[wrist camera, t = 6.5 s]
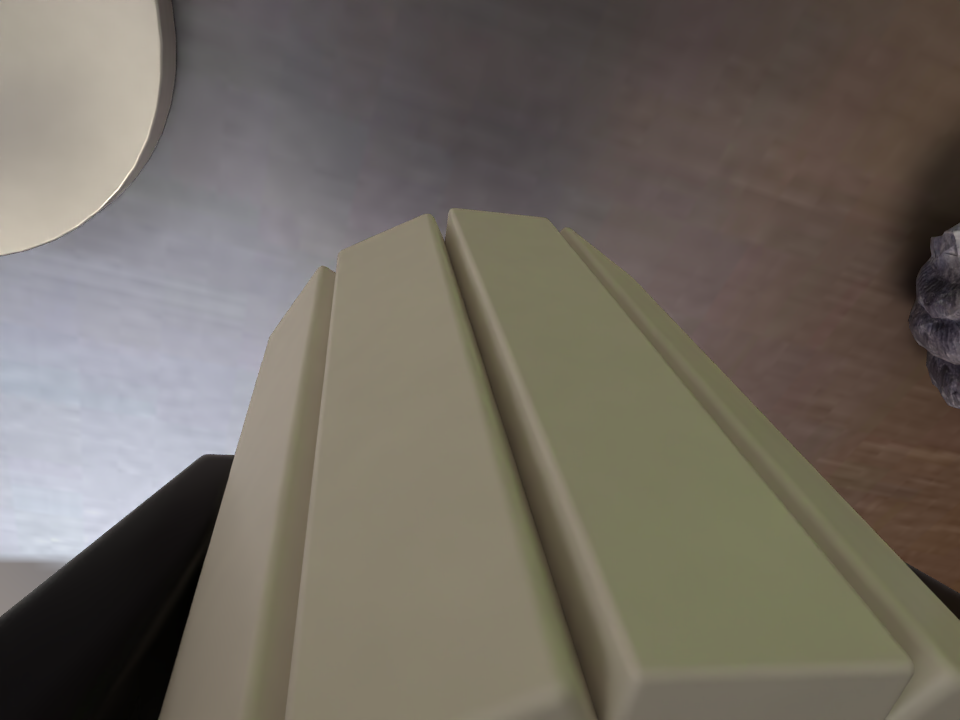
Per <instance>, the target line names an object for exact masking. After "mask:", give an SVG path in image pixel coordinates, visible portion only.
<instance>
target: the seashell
mask: <svg viewBox="0 0 960 720" xmlns="http://www.w3.org/2000/svg"><path fill="white" fill-rule="evenodd" d="M930 250H931V253H932V255H931V257H930V259H929V260H928V261H927V262H926V263H925V264H924V265H923V266H922V267H921V269H920V271H919V273H918V275H917V278H916V296H917V297H916V300H915V302H914V305H913V307H912V310H911V313H910V316H909V320H908V321H909V324H910V325H909V328H910V330H911V332H912V334H913V336H914V339H915V340H916V341H917V343H918V344H919V345H920V346H923V347H924V348H925V349H927V362H926V366H927V368H928V371H929V375H930V378H931V380H932V384H933V385H935V386H936V387H937V388H938V389H939V391H940V393H941V395H942V397H943V398H944V400H945V401H946V403H947V404H948V405H950V406H952V407H955V408H959V409H960V223H959V224H957V225H955V226H954V227H952V228H950V229H949V230H947V231H945V232H944V234H943V235H942V236H938V237H931V244H930Z"/></svg>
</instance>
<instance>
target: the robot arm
mask: <svg viewBox="0 0 960 720" xmlns="http://www.w3.org/2000/svg"><path fill="white" fill-rule="evenodd" d="M234 456H235V455H216V454H206V455H203V456H201V457H200V458H198V459H197V460H196V461H195V462H193V463H192V464H191V465H190V466H188V467H187V468H186V469H185V470H183V471H182V472H181V473H180V474H178V475H177V476H176V477H175V478H173V479H172V480H171V481H170V482H168V483H167V484H166V485H165V486H163V487H162V488H161V489H160V490H158V491H157V492H156V493H155V494H153V495H152V496H151V497H150V498H148V499H147V500H146V501H145V502H143V503H142V504H141V505H140V506H138V507H137V508H136V509H135V510H133V511H132V512H131V513H130V514H128V515H127V516H126V517H125V518H123V519H122V520H121V521H120V522H118V523H117V524H116V525H115V526H113V527H112V528H111V529H110V530H108V531H107V532H106V533H105V534H103V535H102V536H101V537H100V538H98V539H97V540H96V541H95V542H93V543H92V544H91V545H90V546H88V547H87V548H86V549H85V550H83V551H82V552H81V553H80V554H78V555H77V556H76V557H75V558H73V559H72V560H71V561H70V562H68V563H67V564H66V565H65V566H63V567H62V568H61V569H59V570H58V571H57V572H56V573H54V574H53V575H52V576H51V577H49V578H48V579H47V580H46V581H45V582H43V583H42V584H41V585H39V586H38V587H37V588H36V589H34V590H33V591H32V592H31V593H29V594H28V595H27V596H26V597H24V598H23V599H22V600H21V601H19V602H18V603H17V604H16V605H14V606H13V607H12V608H11V609H9V610H8V611H7V612H6V613H4V614H3V615H2V616H1V617H0V720H158V717H159V714H160V710H161V707H162V704H163V700H164V697H165V693H166V690H167V686H168V683H169V679H170V676H171V673H172V669H173V666H174V662H175V659H176V655H177V652H178V649H179V645H180V642H181V638H182V635H183V631H184V628H185V624H186V621H187V618H188V614H189V611H190V607H191V604H192V600H193V597H194V593H195V590H196V587H197V583H198V580H199V576H200V573H201V569H202V566H203V562H204V559H205V557H206V554H207V551H208V548H209V544H210V541H211V537H212V534H213V530H214V527H215V523H216V520H217V516H218V513H219V510H220V506H221V503H222V499H223V496H224V492H225V489H226V485H227V482H228V478H229V474H230V470H231V466H232V463H233V459H234ZM903 562H904V561H903ZM904 563H905V562H904ZM905 564H906V565H907V566H908V567H909V568H910V569H911V570H912V571H913V572H914V573H915V574H916V575H917V576H918V577H919V578H920V579H921V581H922V582H923V583H924V584H925V585H926V586H927V587H928V588H929V589H930V590H931V591H932V592H933V593H934V594H935V595H936V596H937V597H938V598H939V599H940V600H941V601H942V603H943V604H944V605H945V606H946V607H947V608H948V609H949V610H950V611H951V612H952V613H953V614H954V615H955V616H956V617H957V618H958V619H959V620H960V593H958V592H956V591H954V590H953V589H951V588H949V587H947V586H946V585H944V584H942V583H940V582H939V581H937V580H935V579H933V578H932V577H930V576H928V575H926V574H925V573H923V572H921V571H919V570H918V569H916V568H914V567H912V566H911V565H909V564H907V563H905Z"/></svg>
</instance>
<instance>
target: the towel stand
mask: <svg viewBox="0 0 960 720" xmlns="http://www.w3.org/2000/svg"><path fill="white" fill-rule="evenodd" d="M175 75H176V34H175V25H174V16H173V7H172V2H171V0H0V256H5V255H10V254H14V253H19V252H24V251H28V250H30V249H33V248H36V247H39V246H41V245H44V244H47V243H50V242H52V241H55V240H57V239H59V238H61V237H62V236H64V235H66V234H68V233H70V232H72V231H74V230H75V229H77V228H79V227H81V226H82V225H83V224H85V223H86V222H87V221H89V220H90V219H91V218H92V217H94V216H95V215H96V214H98V213H99V212H100V211H102V210H103V209H104V208H106V207H107V206H108V205H109V204H111V203H112V202H113V201H114V200H116V199H117V198H118V197H119V196H120V195H121V194H122V193H123V192H124V190H125V189H126V188H127V187H128V186H129V185H130V184H131V183H132V182H133V181H134V180H135V179H136V177H137V176H138V175H139V173H140V172H141V170H142V169H143V167H144V166H145V164H146V163H147V162H148V160H149V159H150V157H151V155H152V153H153V151H154V149H155V147H156V145H157V143H158V141H159V138H160V136H161V134H162V132H163V129H164V126H165V123H166V119H167V116H168V113H169V109H170V106H171V102H172V95H173V88H174V82H175Z"/></svg>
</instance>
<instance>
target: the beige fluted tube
mask: <svg viewBox="0 0 960 720" xmlns="http://www.w3.org/2000/svg"><path fill="white" fill-rule="evenodd" d="M158 720H960V620H959V619H958V618H957V617H956V616H955V615H954V614H953V613H952V612H951V611H950V610H949V609H948V608H947V607H946V606H945V605H944V604H943V603H942V601H941V600H940V599H939V598H938V597H937V596H936V595H935V594H934V593H933V592H932V591H931V590H930V589H929V588H928V587H927V586H926V585H925V584H924V583H923V582H922V581H921V579H920V578H919V577H918V576H917V575H916V574H915V573H914V572H913V571H912V570H911V569H910V568H909V567H908V566H907V565H906V564H905V563H904V562H903V561H902V560H901V559H900V557H899V556H898V555H897V554H896V553H895V552H894V551H893V550H892V549H891V548H890V547H889V546H888V545H887V544H886V543H885V542H884V541H883V540H882V539H881V538H880V537H879V535H878V534H877V533H876V532H875V531H874V530H873V529H872V528H871V527H870V526H869V525H868V524H867V523H866V522H865V521H864V520H863V519H862V518H861V517H860V516H859V515H858V513H857V512H856V511H855V510H854V509H853V508H852V507H851V506H850V505H849V504H848V503H847V502H846V501H845V500H844V499H843V498H842V497H841V496H840V495H839V494H838V493H837V491H836V490H835V489H834V488H833V487H832V486H831V485H830V484H829V483H828V482H827V481H826V480H825V479H824V478H823V477H822V476H821V475H820V474H819V473H818V472H817V471H816V469H815V468H814V467H813V466H812V465H811V464H810V463H809V462H808V461H807V460H806V459H805V458H804V457H803V456H802V455H801V454H800V453H799V452H798V451H797V450H796V449H795V447H794V446H793V445H792V444H791V443H790V442H789V441H788V440H787V439H786V438H785V437H784V436H783V435H782V434H781V433H780V432H779V431H778V430H777V429H776V428H775V427H774V425H773V424H772V423H771V422H770V421H769V420H768V419H767V418H766V417H765V416H764V415H763V414H762V413H761V412H760V411H759V410H758V409H757V408H756V407H755V406H754V405H753V403H752V402H751V401H750V400H749V399H748V398H747V397H746V396H745V395H744V394H743V393H742V392H741V391H740V390H739V389H738V388H737V387H736V386H735V385H734V384H733V383H732V381H731V380H730V379H729V378H728V377H727V376H726V375H725V374H724V373H723V372H722V371H721V370H720V369H719V368H718V367H717V366H716V365H715V364H714V363H713V362H712V361H711V359H710V358H709V357H708V356H707V355H706V354H705V353H704V352H703V351H702V350H701V349H700V348H699V347H698V346H697V345H696V344H695V343H694V342H693V341H692V340H691V339H690V337H689V336H688V335H687V334H686V333H685V332H684V331H683V330H682V329H681V328H680V327H679V326H678V325H677V324H676V323H675V322H674V321H673V320H672V319H671V318H670V316H669V315H668V314H667V313H666V312H665V311H664V310H663V309H662V308H661V307H660V306H659V305H658V304H657V303H656V302H655V301H654V300H653V299H652V298H651V297H650V296H649V294H648V293H647V292H646V291H645V290H644V289H643V288H642V287H641V286H640V285H639V284H638V283H637V282H636V281H635V280H634V279H633V278H632V277H631V276H630V275H629V274H627V273H626V272H625V271H624V270H622V269H621V268H620V267H619V266H617V265H616V264H615V263H613V262H612V261H611V260H610V259H608V258H607V257H606V256H605V255H603V254H602V253H601V252H600V251H598V250H597V249H596V248H595V247H593V246H592V245H591V244H589V243H588V242H587V241H586V240H584V239H583V238H582V237H581V236H579V235H578V234H577V233H576V232H574V231H573V230H572V229H570V228H567V227H565V228H564V229H562V230H561V232H560V233H559V232H558V230H557V229H556V228H555V227H554V226H553V224H552V223H551V222H550V221H549V219H547V218H543V217H533V216H524V215H515V214H505V213H496V212H487V211H477V210H468V209H459V208H452V209H450V211H449V213H448V221H447V229H446V237H445V241H444V239H443V237H442V235H441V232H440V230H439V228H438V225H437V223H436V221H435V219H434V217H433V216H432V215H431V214H423V215H421V216H419V217H416V218H414V219H412V220H410V221H407V222H405V223H403V224H400V225H398V226H396V227H393V228H391V229H389V230H387V231H384V232H382V233H380V234H377V235H375V236H373V237H371V238H368V239H366V240H364V241H361V242H359V243H357V244H355V245H352V246H350V247H348V248H345V249H343V250H341V251H340V252H339V254H338V258H337V267H336V273H335V272H333V271H332V270H330V269H329V268H327V267H325V266H321V267H319V268H318V269H317V270H316V272H315V273H314V275H313V276H312V277H311V279H310V280H309V282H308V283H307V284H306V286H305V287H304V289H303V290H302V292H301V293H300V294H299V296H298V297H297V299H296V300H295V301H294V303H293V304H292V306H291V307H290V309H289V310H288V311H287V313H286V314H285V316H284V317H283V318H282V320H281V321H280V323H279V324H278V326H277V327H276V328H275V330H274V331H273V333H272V334H271V335H270V337H269V340H268V344H267V347H266V351H265V354H264V357H263V361H262V363H261V366H260V370H259V373H258V377H257V380H256V384H255V387H254V390H253V394H252V397H251V401H250V404H249V408H248V411H247V414H246V418H245V421H244V425H243V428H242V432H241V435H240V439H239V442H238V445H237V449H236V452H235V456H234V459H233V463H232V466H231V470H230V474H229V478H228V482H227V485H226V489H225V492H224V496H223V499H222V503H221V506H220V510H219V513H218V516H217V520H216V523H215V527H214V530H213V534H212V537H211V541H210V544H209V548H208V551H207V554H206V557H205V559H204V562H203V566H202V569H201V573H200V576H199V580H198V583H197V587H196V590H195V593H194V597H193V600H192V604H191V607H190V611H189V614H188V618H187V621H186V624H185V628H184V631H183V635H182V638H181V642H180V645H179V649H178V652H177V655H176V659H175V662H174V666H173V669H172V673H171V676H170V679H169V683H168V686H167V690H166V693H165V697H164V700H163V704H162V707H161V710H160V714H159V717H158Z"/></svg>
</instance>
